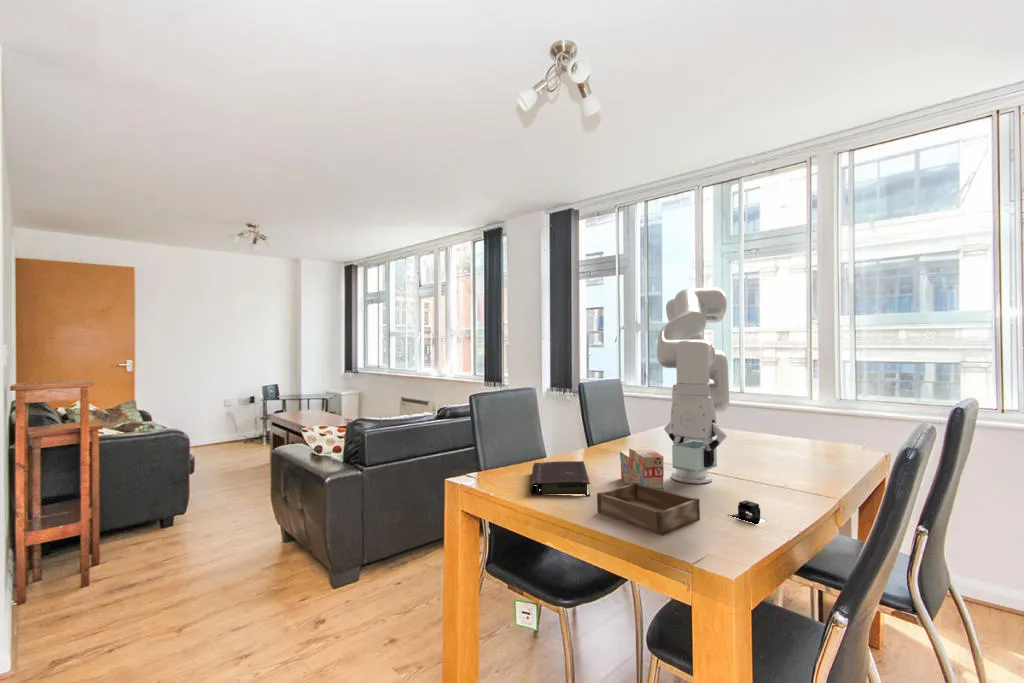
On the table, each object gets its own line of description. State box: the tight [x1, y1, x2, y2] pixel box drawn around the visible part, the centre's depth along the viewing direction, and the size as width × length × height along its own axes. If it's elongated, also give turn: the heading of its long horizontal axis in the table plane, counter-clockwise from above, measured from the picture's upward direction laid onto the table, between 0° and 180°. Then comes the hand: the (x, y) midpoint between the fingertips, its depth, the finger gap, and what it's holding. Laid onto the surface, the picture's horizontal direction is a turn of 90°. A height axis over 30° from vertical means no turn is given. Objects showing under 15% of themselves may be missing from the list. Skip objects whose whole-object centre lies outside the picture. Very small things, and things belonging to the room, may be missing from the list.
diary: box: [529, 460, 591, 497], centre depth 154 cm, size 19×25×5 cm
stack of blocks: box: [619, 447, 665, 491], centre depth 150 cm, size 21×6×12 cm, turn 5°
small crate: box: [671, 440, 718, 473], centre depth 117 cm, size 9×6×6 cm
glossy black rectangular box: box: [729, 500, 766, 524], centre depth 121 cm, size 12×7×5 cm, turn 29°
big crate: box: [596, 482, 701, 536], centre depth 124 cm, size 16×20×5 cm
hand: (694, 463), depth 117 cm, fingers closed on small crate, 6 cm apart
